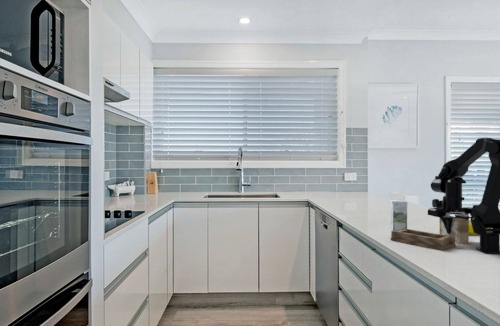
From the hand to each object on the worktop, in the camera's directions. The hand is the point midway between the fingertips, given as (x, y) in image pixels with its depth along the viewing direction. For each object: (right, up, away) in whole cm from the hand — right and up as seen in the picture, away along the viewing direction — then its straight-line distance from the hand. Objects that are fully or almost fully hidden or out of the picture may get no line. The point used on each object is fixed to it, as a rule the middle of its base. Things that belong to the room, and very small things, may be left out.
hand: (453, 233), depth 141 cm
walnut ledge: (-15, -3, -5) cm, 16 cm away
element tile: (+16, -3, +17) cm, 23 cm away
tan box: (0, -3, 0) cm, 3 cm away
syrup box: (-16, -3, +13) cm, 21 cm away
